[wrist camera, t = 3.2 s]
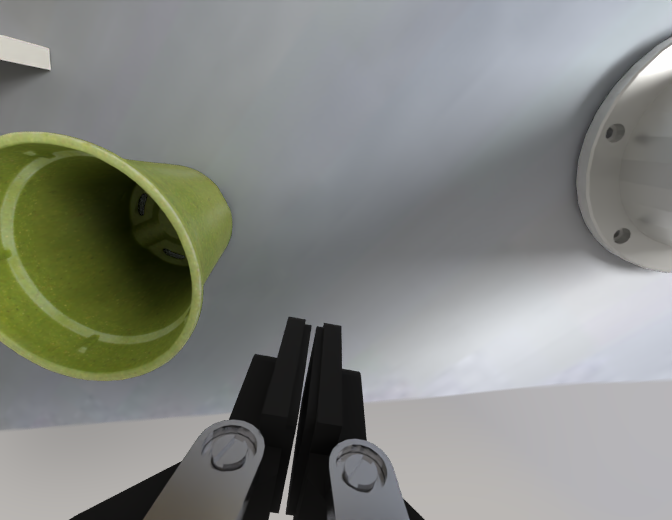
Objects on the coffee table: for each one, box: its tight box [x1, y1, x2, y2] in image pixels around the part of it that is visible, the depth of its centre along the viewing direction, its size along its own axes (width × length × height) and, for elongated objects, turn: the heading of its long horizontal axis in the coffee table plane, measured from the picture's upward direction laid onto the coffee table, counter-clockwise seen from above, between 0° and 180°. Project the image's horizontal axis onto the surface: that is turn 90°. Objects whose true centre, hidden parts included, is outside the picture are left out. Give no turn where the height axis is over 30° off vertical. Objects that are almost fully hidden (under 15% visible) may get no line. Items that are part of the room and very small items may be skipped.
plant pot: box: [0, 132, 232, 381], centre depth 16 cm, size 9×9×9 cm
